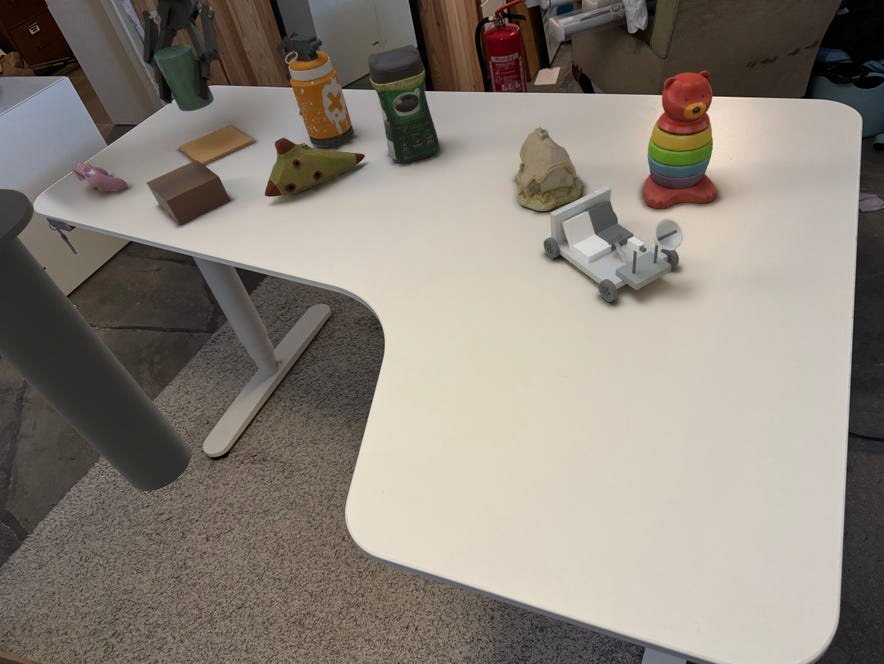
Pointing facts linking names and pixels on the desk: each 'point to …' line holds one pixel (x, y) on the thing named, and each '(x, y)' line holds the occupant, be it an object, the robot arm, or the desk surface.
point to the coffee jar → (403, 103)
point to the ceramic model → (546, 173)
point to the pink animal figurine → (98, 177)
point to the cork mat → (215, 144)
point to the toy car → (610, 245)
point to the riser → (188, 191)
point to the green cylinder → (181, 76)
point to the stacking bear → (681, 144)
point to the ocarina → (306, 167)
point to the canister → (316, 90)
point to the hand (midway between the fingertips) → (184, 98)
